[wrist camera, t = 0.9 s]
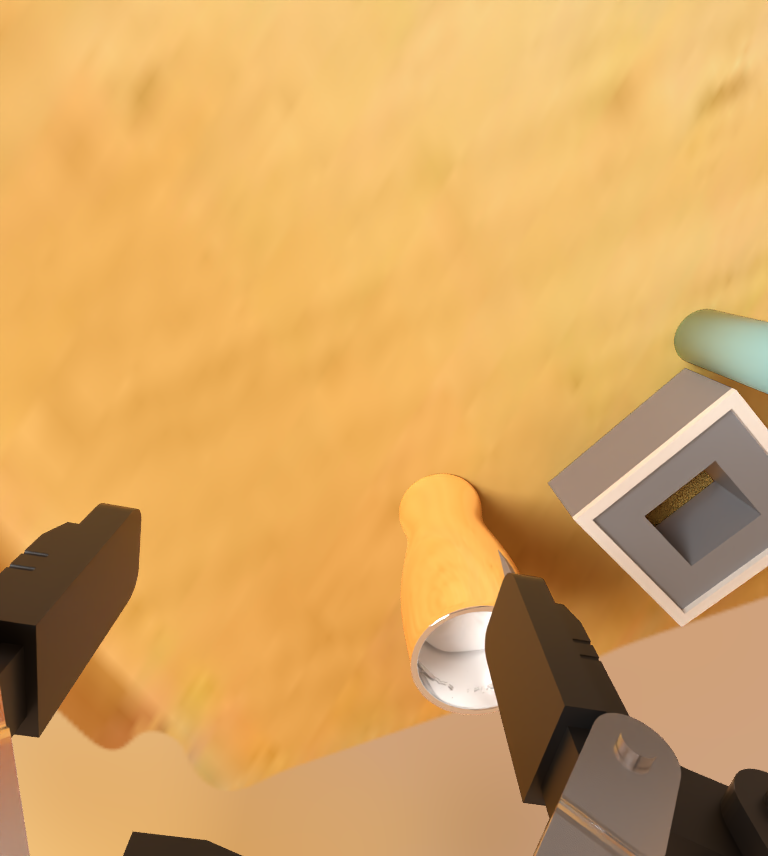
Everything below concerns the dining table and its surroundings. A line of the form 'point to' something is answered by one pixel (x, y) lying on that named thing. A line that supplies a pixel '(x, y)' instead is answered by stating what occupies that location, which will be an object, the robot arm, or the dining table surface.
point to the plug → (726, 346)
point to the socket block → (665, 474)
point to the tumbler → (449, 592)
